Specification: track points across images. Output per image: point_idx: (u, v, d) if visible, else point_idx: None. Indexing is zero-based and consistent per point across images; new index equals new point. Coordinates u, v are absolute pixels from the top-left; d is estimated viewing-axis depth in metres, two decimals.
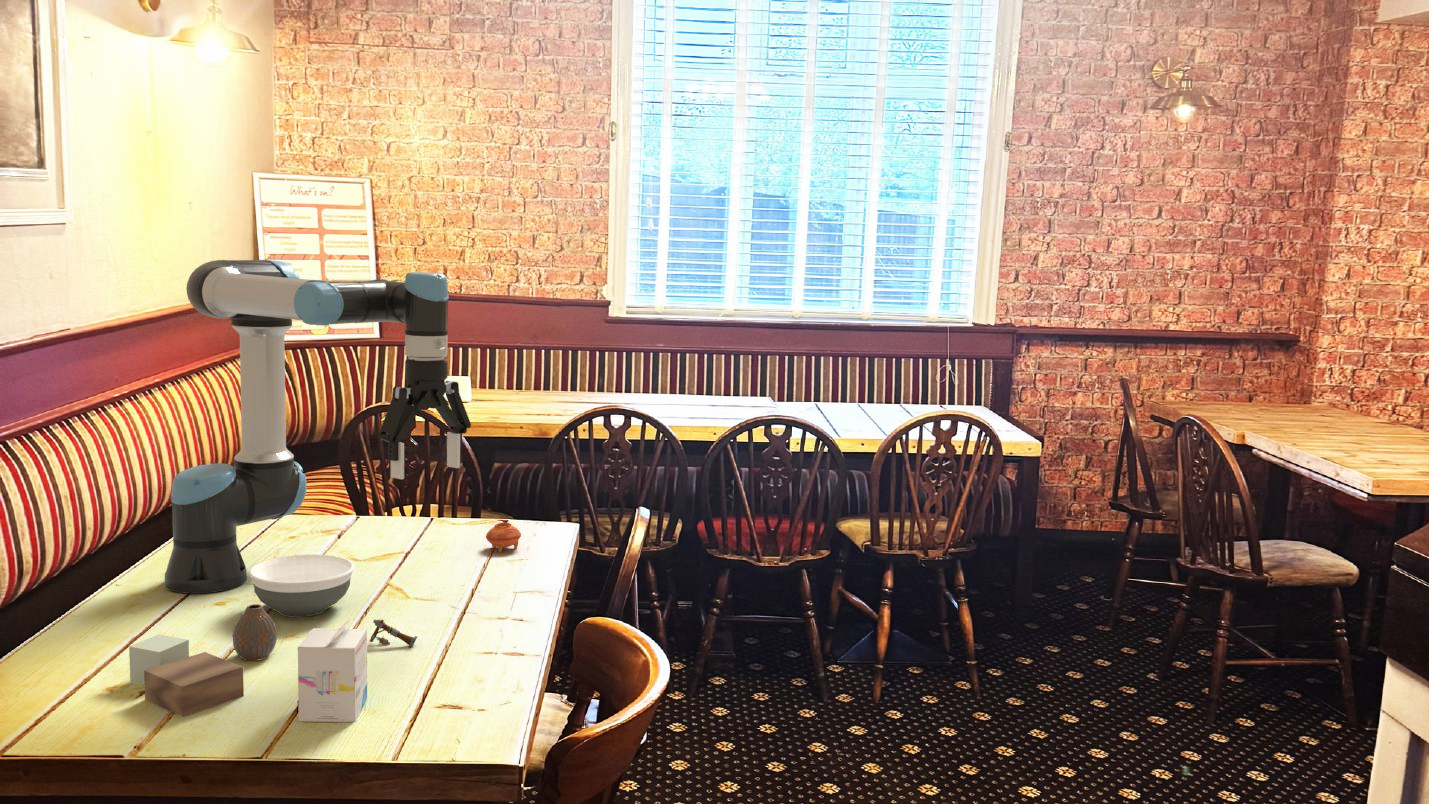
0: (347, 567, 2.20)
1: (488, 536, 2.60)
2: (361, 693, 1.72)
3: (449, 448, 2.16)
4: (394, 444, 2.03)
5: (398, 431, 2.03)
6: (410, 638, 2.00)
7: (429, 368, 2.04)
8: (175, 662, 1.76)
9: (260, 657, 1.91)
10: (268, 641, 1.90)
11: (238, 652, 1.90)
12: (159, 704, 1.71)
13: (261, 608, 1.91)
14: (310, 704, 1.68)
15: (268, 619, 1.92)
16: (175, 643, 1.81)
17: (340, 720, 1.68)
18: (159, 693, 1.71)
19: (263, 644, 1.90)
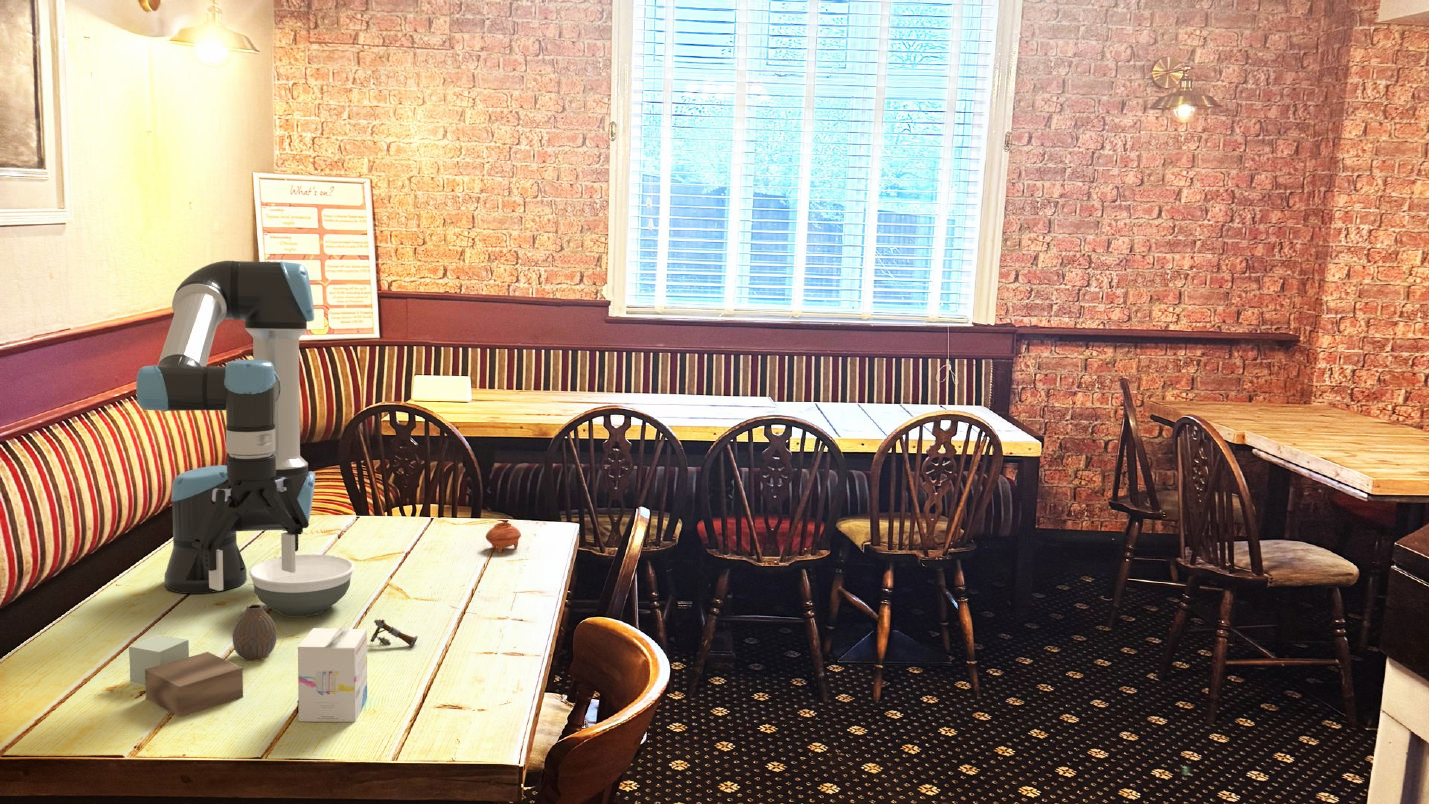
0: (347, 567, 2.20)
1: (488, 536, 2.60)
2: (361, 693, 1.72)
3: (283, 550, 1.96)
4: (210, 552, 1.82)
5: (215, 538, 1.83)
6: (411, 638, 2.00)
7: (251, 467, 1.84)
8: (176, 661, 1.77)
9: (260, 657, 1.91)
10: (269, 641, 1.90)
11: (238, 652, 1.90)
12: (159, 703, 1.72)
13: (261, 608, 1.91)
14: (310, 704, 1.68)
15: (269, 619, 1.92)
16: (175, 643, 1.81)
17: (340, 720, 1.68)
18: (159, 692, 1.71)
19: (263, 644, 1.90)
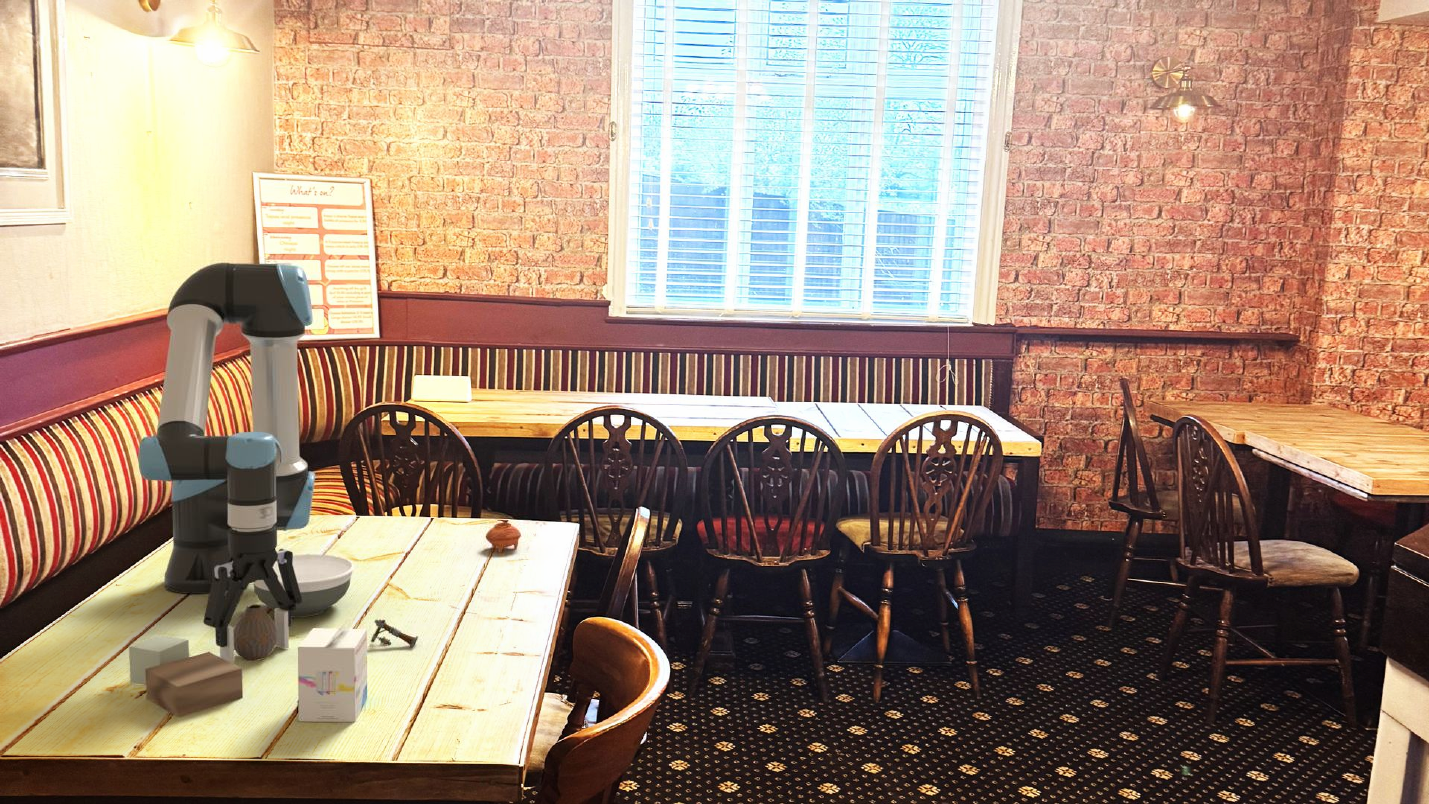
0: (347, 567, 2.20)
1: (488, 536, 2.60)
2: (361, 693, 1.72)
3: (277, 626, 1.96)
4: (221, 629, 1.86)
5: (224, 615, 1.86)
6: (411, 638, 2.00)
7: (253, 540, 1.86)
8: (177, 661, 1.77)
9: (260, 657, 1.91)
10: (268, 641, 1.90)
11: (238, 652, 1.90)
12: (159, 703, 1.72)
13: (261, 608, 1.91)
14: (310, 704, 1.68)
15: (269, 619, 1.92)
16: (175, 643, 1.81)
17: (340, 720, 1.68)
18: (158, 692, 1.71)
19: (263, 644, 1.90)
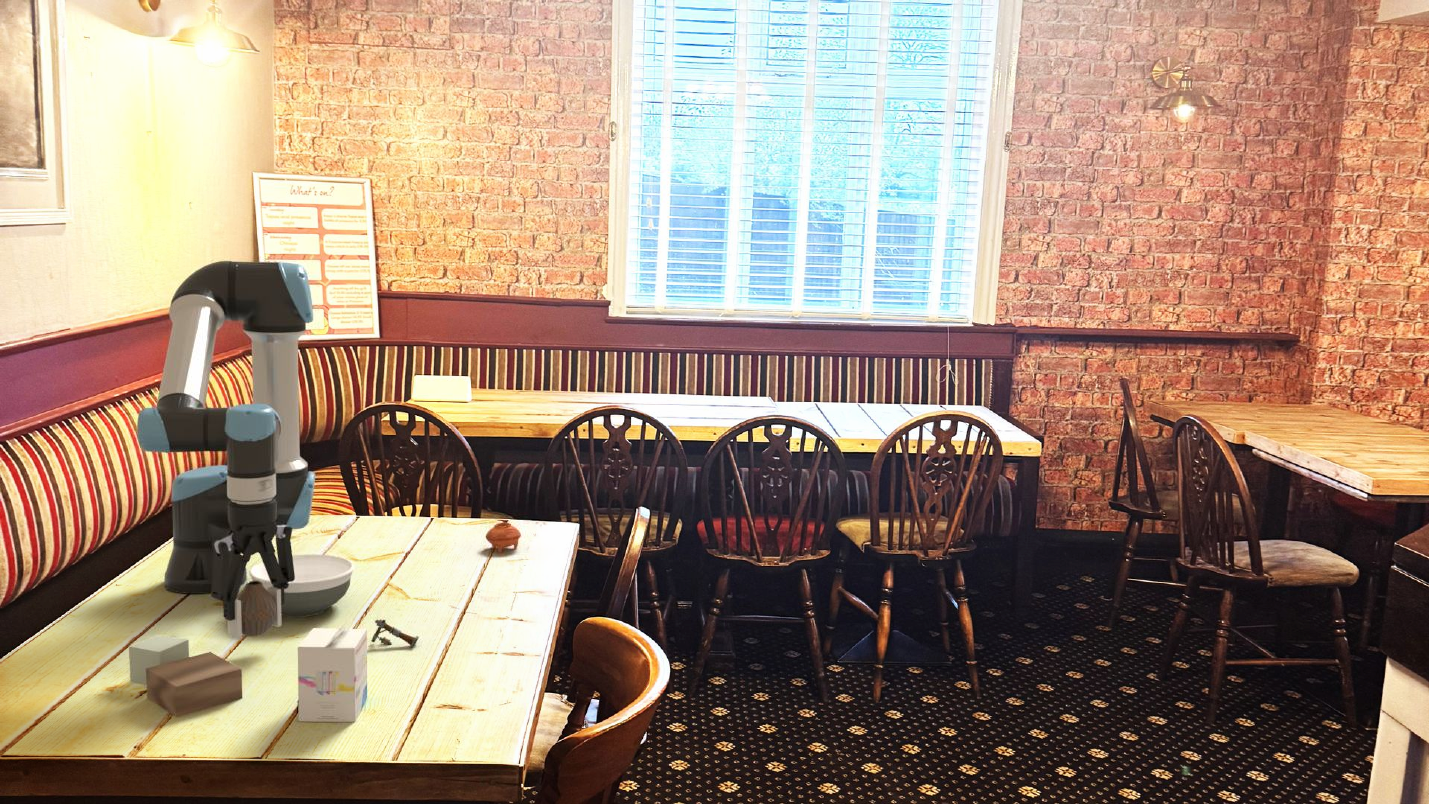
0: (347, 567, 2.20)
1: (488, 536, 2.60)
2: (361, 693, 1.72)
3: None
4: (229, 603, 1.87)
5: (231, 589, 1.87)
6: (412, 638, 2.00)
7: (252, 513, 1.86)
8: (178, 661, 1.77)
9: (259, 633, 1.91)
10: (268, 618, 1.91)
11: None
12: (158, 702, 1.72)
13: (261, 584, 1.91)
14: (310, 704, 1.68)
15: (268, 595, 1.92)
16: (175, 643, 1.81)
17: (340, 720, 1.68)
18: (158, 691, 1.71)
19: (263, 620, 1.90)
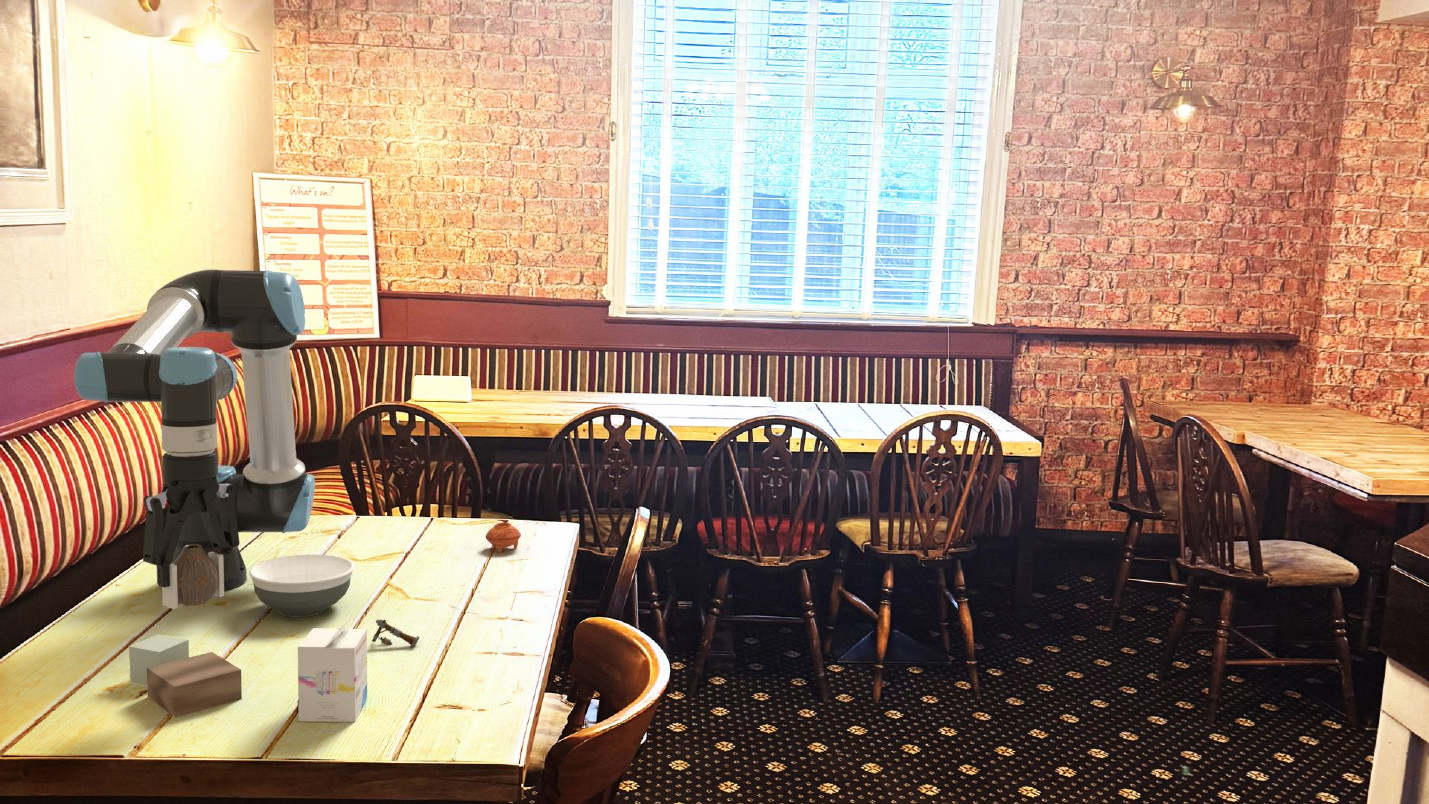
0: (347, 567, 2.20)
1: (488, 536, 2.60)
2: (361, 693, 1.72)
3: None
4: (163, 567, 1.68)
5: (165, 552, 1.67)
6: (412, 638, 2.00)
7: (189, 466, 1.67)
8: (179, 660, 1.77)
9: (198, 602, 1.71)
10: (208, 585, 1.71)
11: None
12: (158, 702, 1.72)
13: (200, 547, 1.72)
14: (310, 704, 1.68)
15: (209, 560, 1.72)
16: (175, 643, 1.81)
17: (340, 720, 1.68)
18: (158, 691, 1.72)
19: (202, 587, 1.70)
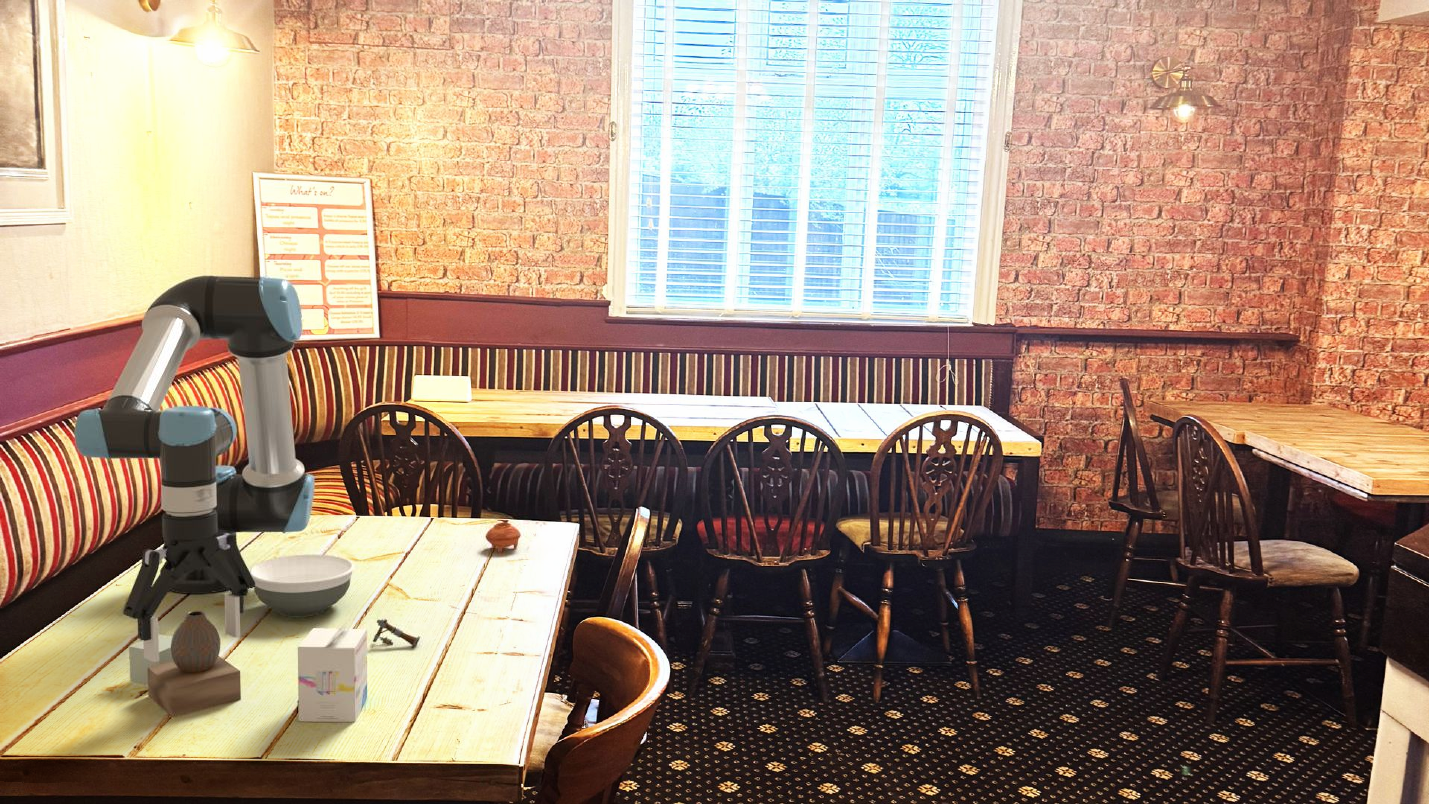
0: (347, 567, 2.20)
1: (488, 536, 2.60)
2: (361, 693, 1.72)
3: (227, 613, 1.79)
4: (144, 621, 1.66)
5: (149, 604, 1.66)
6: (413, 638, 2.00)
7: (189, 526, 1.68)
8: None
9: (201, 669, 1.73)
10: (211, 652, 1.73)
11: (177, 664, 1.72)
12: (158, 702, 1.72)
13: (203, 615, 1.73)
14: (310, 704, 1.68)
15: (211, 627, 1.74)
16: None
17: (340, 720, 1.68)
18: (157, 691, 1.72)
19: (205, 655, 1.72)
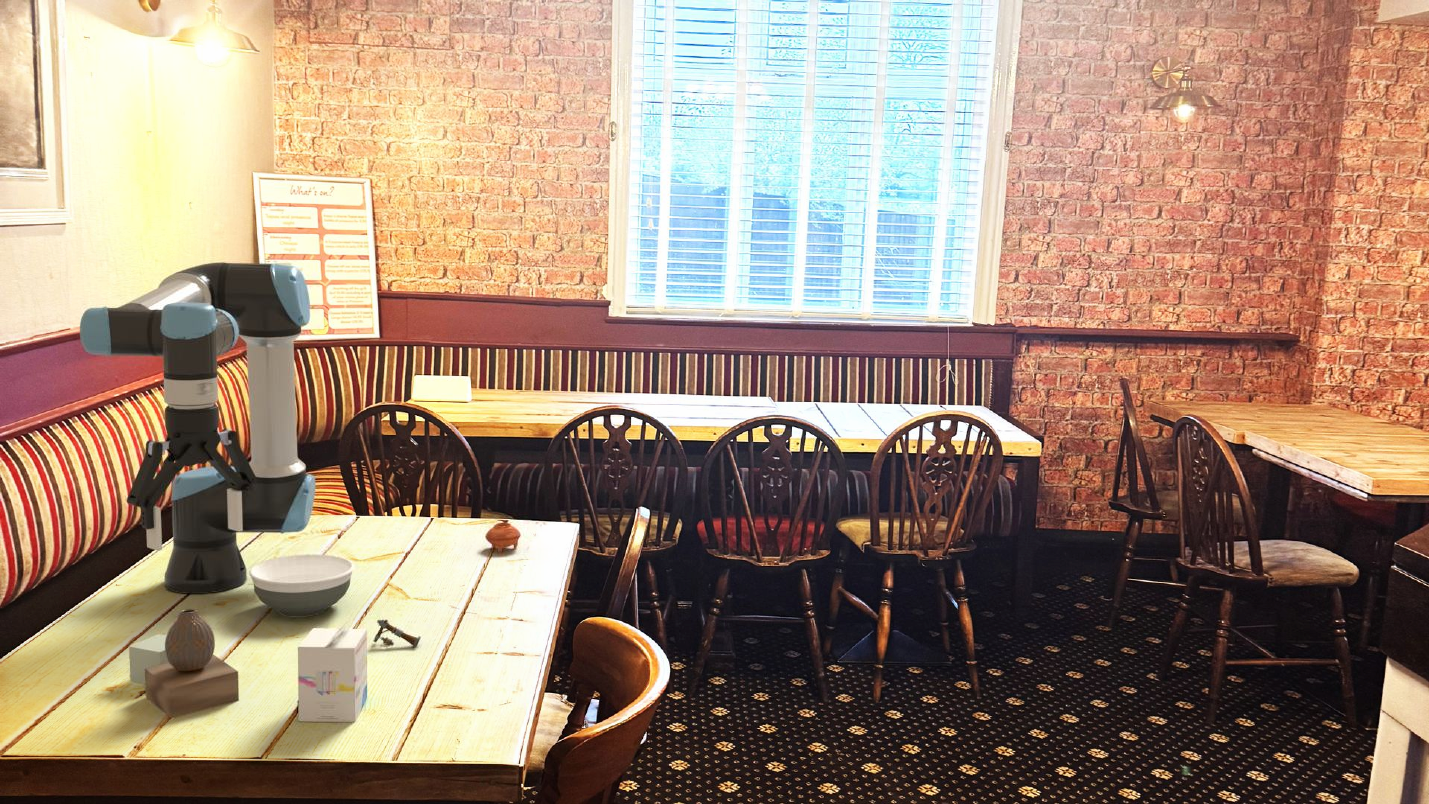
0: (347, 567, 2.20)
1: (488, 536, 2.60)
2: (361, 693, 1.72)
3: (230, 508, 1.83)
4: (147, 509, 1.70)
5: (152, 494, 1.70)
6: (414, 638, 2.00)
7: (191, 418, 1.71)
8: None
9: (196, 666, 1.72)
10: (205, 648, 1.72)
11: (171, 662, 1.71)
12: (155, 703, 1.72)
13: (196, 612, 1.74)
14: (310, 704, 1.68)
15: (205, 624, 1.74)
16: None
17: (340, 720, 1.68)
18: (155, 692, 1.71)
19: (199, 650, 1.71)
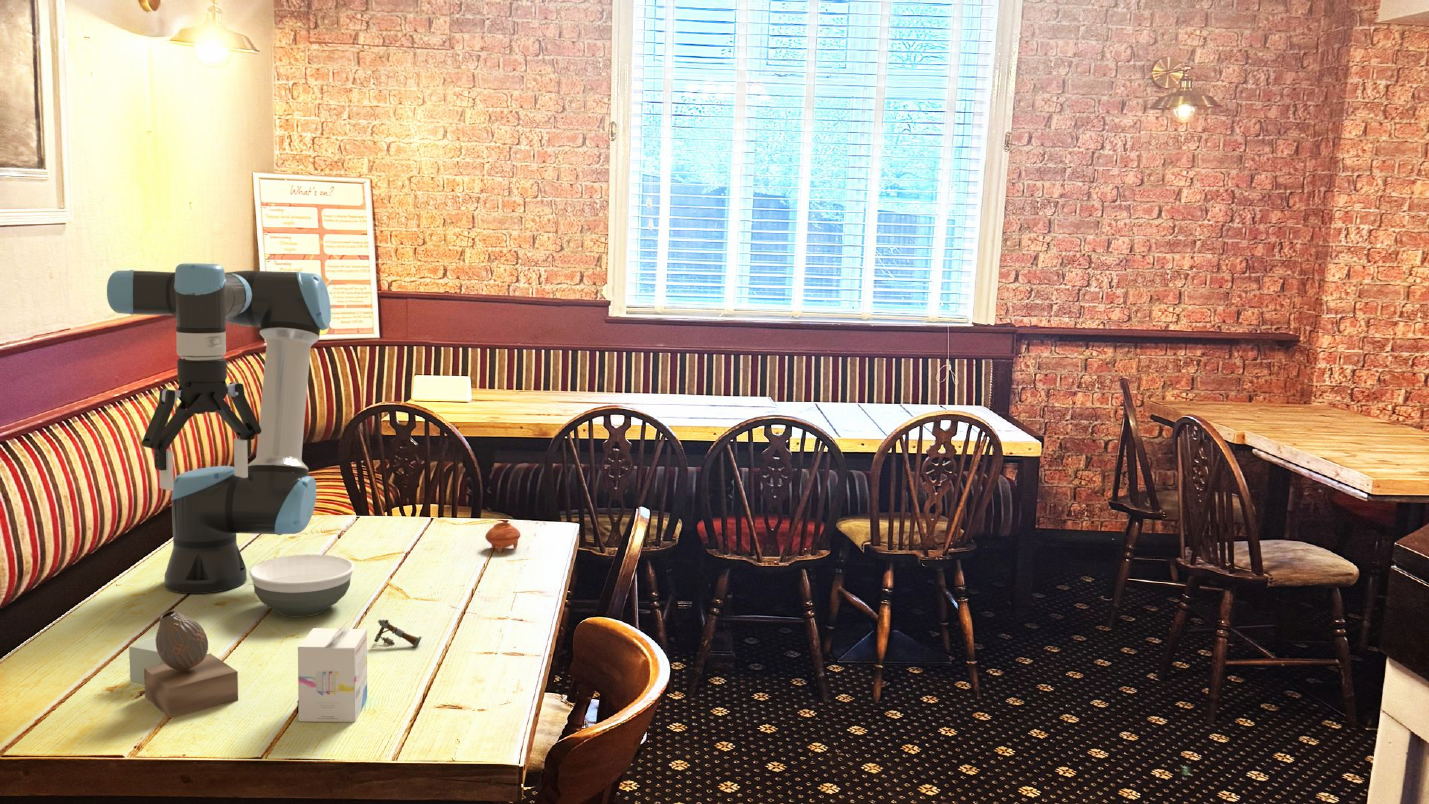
0: (347, 567, 2.20)
1: (487, 536, 2.60)
2: (361, 693, 1.72)
3: (236, 456, 1.97)
4: (160, 452, 1.84)
5: (165, 438, 1.84)
6: (415, 638, 2.00)
7: (201, 369, 1.86)
8: None
9: (203, 657, 1.73)
10: (205, 637, 1.73)
11: (180, 664, 1.71)
12: (154, 703, 1.72)
13: (176, 611, 1.72)
14: (310, 704, 1.68)
15: (189, 618, 1.73)
16: None
17: (340, 720, 1.68)
18: (154, 692, 1.71)
19: (202, 641, 1.72)
